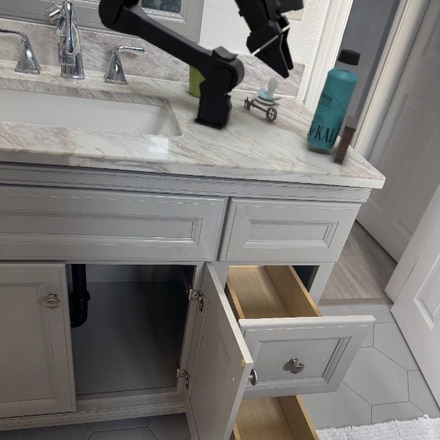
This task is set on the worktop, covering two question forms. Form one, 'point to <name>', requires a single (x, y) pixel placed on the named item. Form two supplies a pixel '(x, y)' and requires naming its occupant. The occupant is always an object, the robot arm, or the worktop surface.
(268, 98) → the pacifier
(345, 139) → the dark brown flat block
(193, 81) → the plant pot
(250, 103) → the key
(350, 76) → the beverage bottle
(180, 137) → the worktop surface
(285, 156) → the worktop surface
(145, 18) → the robot arm
